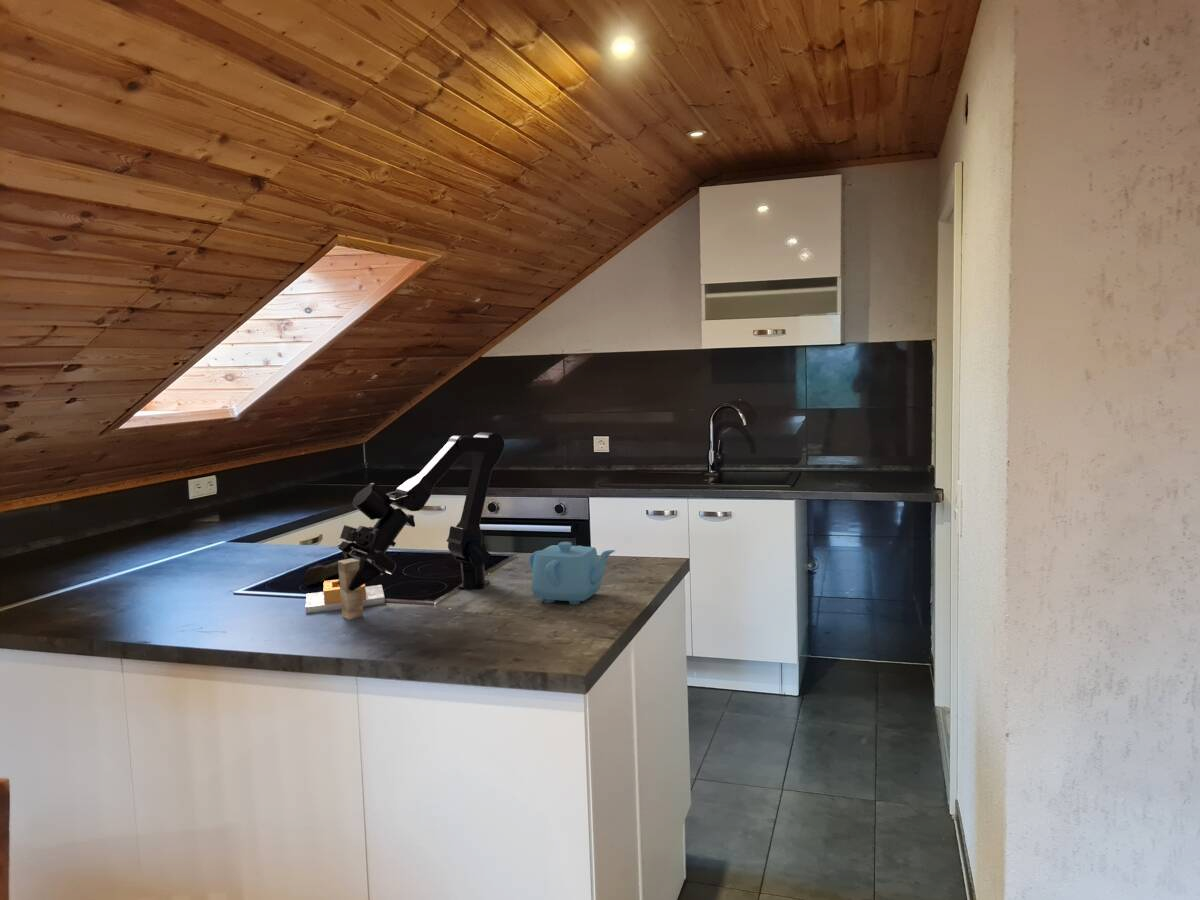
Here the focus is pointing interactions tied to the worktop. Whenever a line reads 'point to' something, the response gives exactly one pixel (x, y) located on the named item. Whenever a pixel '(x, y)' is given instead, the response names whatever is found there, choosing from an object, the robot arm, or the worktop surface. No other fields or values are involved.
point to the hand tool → (321, 573)
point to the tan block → (349, 599)
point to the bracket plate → (320, 606)
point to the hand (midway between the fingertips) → (344, 587)
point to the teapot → (567, 572)
